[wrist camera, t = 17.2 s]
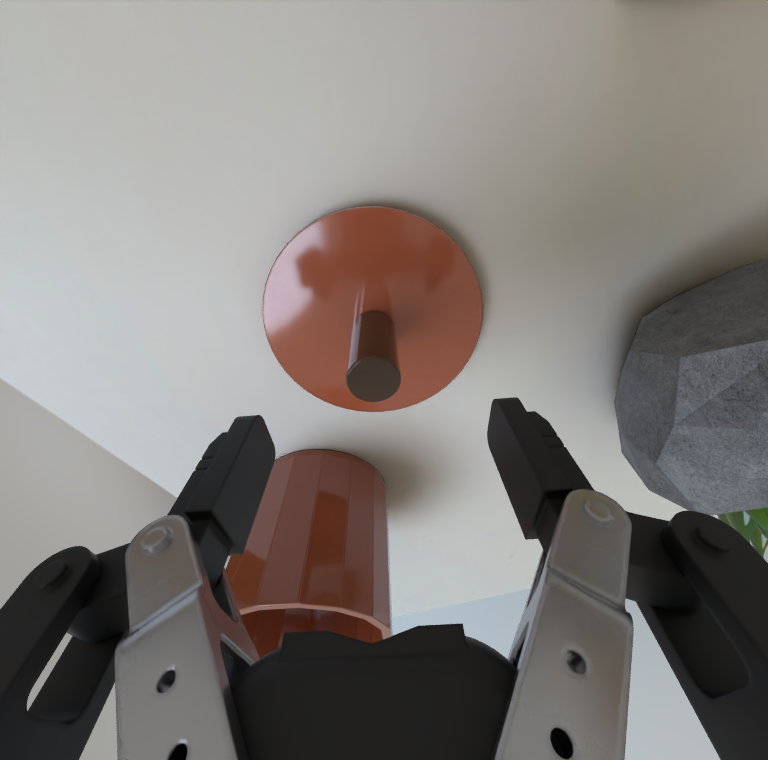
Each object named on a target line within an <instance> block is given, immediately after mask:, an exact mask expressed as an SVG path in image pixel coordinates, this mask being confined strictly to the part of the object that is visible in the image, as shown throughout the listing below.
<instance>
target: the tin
mask: <svg viewBox="0 0 768 760" xmlns="http://www.w3.org/2000/svg"><path fill="white" fill-rule="evenodd" d="M226 572H227V575H228V578H229V581H230V584H231V587H232V590H233V593H234V596H235V599H236V602H237V605H238V608H239V611H240V614H241V617H242V620H243V623H244V626H245V628H246V631H247V633H248V635H249V636H250V638H251V640H252V642H253V644H254V646H255V648H256V650H257V652H258V655H259V658H262V657H263V656H265V655H266V654H268V653H270V652H271V651H273V650H275V649H277V648H279V647H281V646H282V641H283V636H284V633H289V632H309V631H331V632H334V633H337V634H341V635H344V636H348V637H351V638H354V639H358V640H361V641H365V642H368V643H375V642H378V641H381V640H383V639H386V638H389V637H391V636H393V635H392V608H391V582H390V555H389V529H388V503H387V491H386V485H385V482H384V480H383V478H382V476H381V475H380V473H379V472H378V471H377V470H376V469H375V468H374V467H373V466H371V465H370V464H369V463H367V462H365V461H364V460H362V459H360V458H358V457H355V456H353V455H350V454H347V453H343V452H338V451H332V450H305V451H299V452H294V453H291V454H288V455H285V456H283V457H281V458H279V459H277V460H276V461H274V465H273V468H272V471H271V474H270V476H269V479H268V482H267V485H266V488H265V491H264V494H263V497H262V500H261V503H260V506H259V508H258V511H257V514H256V517H255V520H254V523H253V526H252V529H251V532H250V535H249V537H248V540H247V543H246V546H245V549H244V552H243V555H231V557H230V560H229V562H228V565H227V568H226Z"/></svg>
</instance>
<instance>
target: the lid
mask: <svg viewBox="0 0 768 760" xmlns="http://www.w3.org/2000/svg"><path fill="white" fill-rule="evenodd" d="M482 313H483V305H482V295H481V290H480V286H479V282H478V279H477V276H476V274H475V272H474V269H473V267H472V265H471V263H470V262H469V260H468V258H467V257H466V255H465V253H464V252H463V251H462V250H461V248H460V247H459V246H458V245H457V244H456V242H455V241H454V240H453V239H452V238H450V237H449V236H448V235H447V234H446V233H445V232H444V231H443V230H442V229H440V228H439V227H437V226H436V225H434V224H433V223H431V222H430V221H428V220H426V219H424V218H422V217H420V216H418V215H415V214H413V213H410V212H407V211H404V210H400V209H397V208H391V207H383V206H359V207H353V208H347V209H343V210H340V211H337V212H334V213H331V214H328V215H326V216H324V217H322V218H320V219H318V220H316V221H314V222H312V223H311V224H310V225H308V226H307V227H305V228H304V229H303V230H301V231H300V232H299V233H298V234H297V235H296V236H295V237H294V238H293V239H292V240H291V241H290V242H288V243H287V245H286V246H285V247H284V249H283V250H282V251H281V253H280V254H279V255H278V257H277V259H276V261H275V262H274V264H273V266H272V268H271V270H270V273H269V276H268V279H267V282H266V285H265V290H264V296H263V320H264V327H265V331H266V335H267V339H268V341H269V344H270V346H271V349H272V351H273V353H274V355H275V356H276V358H277V360H278V362H279V363H280V364H281V366H282V367H283V368H284V370H285V371H286V372H287V373H288V375H289V376H290V377H291V378H292V379H293V380H294V381H295V382H296V383H298V384H299V385H300V386H301V387H302V388H303V389H305V390H306V391H308V392H309V393H311V394H312V395H314V396H316V397H318V398H319V399H321V400H323V401H325V402H328V403H330V404H333V405H335V406H339V407H342V408H346V409H351V410H356V411H366V412H383V411H391V410H397V409H401V408H405V407H408V406H411V405H414V404H417V403H419V402H421V401H424V400H426V399H428V398H430V397H431V396H433V395H435V394H436V393H438V392H439V391H441V390H442V389H443V388H444V387H446V386H447V385H448V384H449V383H450V382H451V381H452V380H453V379H455V378H456V376H457V375H458V374H459V373H460V372H461V370H462V369H463V368H464V366H465V365H466V363H467V362H468V360H469V359H470V357H471V355H472V353H473V351H474V349H475V347H476V344H477V341H478V338H479V335H480V330H481V325H482Z"/></svg>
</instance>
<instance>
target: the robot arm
mask: <svg viewBox="0 0 768 760" xmlns="http://www.w3.org/2000/svg"><path fill="white" fill-rule="evenodd" d="M487 438H488V444H489V448H490V451H491V453H492V456H493V458H494V461H495V464H496V466H497V469H498V471H499V474H500V476H501V479H502V481H503V484H504V486H505V489H506V491H507V494H508V496H509V499H510V501H511V504H512V506H513V509H514V511H515V514H516V516H517V519H518V521H519V524H520V527H521V529H522V532H523V534H524V537H525V539H539V541H540V543H541V546H542V548H543V551H542V553H541V557H540V560H539V563H538V566H537V570H536V573H535V576H534V579H533V583H532V586H531V589H530V593H529V596H528V599H527V602H526V606H525V609H524V612H523V615H522V618H521V621H520V623H519V626H518V629H517V632H516V634H515V638H514V640H513V644H512V647H511V650H510V653H509V656H508V659H506V658H505V657H504V656H503V655H501V654H500V653H499V652H497V651H496V650H495V649H493V648H491V647H490V646H488V645H486V644H484V643H482V642H480V641H478V640H476V639H474V638H470V637H467V636H465V634H464V629H463V624H446V625H427V626H417V627H414V628H412V629H409V630H406V631H404V632H401V633H399V634H397V635H394V636H391V637H389V638H386V639H383V640H381V641H378V642H375V643H368V642H365V641H361V640H358V639H354V638H351V637H348V636H344V635H341V634H337V633H334V632H331V631H309V632H289V633H284V636H283V641H282V646H281V647H279V648H277V649H275V650H273V651H271V652H270V653H268V654H266V655H265V656H263V657H262V658H259V655H258V652H257V650H256V648H255V646H254V644H253V642H252V640H251V638H250V636H249V635H248V633H247V631H246V628H245V626H244V623H243V620H242V617H241V614H240V611H239V608H238V605H237V602H236V599H235V596H234V593H233V590H232V587H231V584H230V581H229V578H228V575H227V572H226V570H225V568H224V565H225V563H226V560H227V557H228V556H230V555H243V552H244V549H245V546H246V543H247V540H248V537H249V535H250V532H251V529H252V526H253V523H254V520H255V517H256V514H257V511H258V508H259V506H260V503H261V500H262V497H263V494H264V491H265V488H266V485H267V482H268V479H269V476H270V474H271V471H272V468H273V465H274V461H275V447H274V444H273V441H272V439H271V436H270V434H269V431H268V429H267V426H266V424H265V421H264V419H263V417H262V416H260V415H256V416H242V417H237V418H236V419H235V420H234V422H233V423H232V425H231V427H230V429H229V431H228V432H226V433H222V434H220V435H219V436H218V437H217V438H216V439H215V440H214V441H213V442H212V443H211V444H210V445H209V446H208V448H207V450H206V452H205V453H204V455H203V457H202V460H200V462H199V463H198V465H197V467H196V471H194V472H193V473H192V475H191V477H190V478H189V480H188V482H187V483H186V485H185V487H184V488H183V490H182V492H181V493H180V495H179V497H178V498H177V500H176V502H175V504H174V505H173V507H172V509H171V510H170V512H169V513H168V515H167V516H164V517H162V518H159V519H157V520H155V521H153V522H152V523H150V524H149V525H147V526H146V527H144V528H143V529H142V530H141V531H140V532H139V533H138V534H137V535H136V536H135V537H134V539H133V540H132V541H131V543H128V544H126V545H123V546H120V547H117V548H114V549H111V550H109V551H106V552H103V553H100V554H97V555H95V554H93V553H92V552H91V551H90V550H88V549H87V548H85V547H82V546H75V547H70V548H67V549H65V550H62V551H60V552H58V553H56V554H54V555H52V556H51V557H49V558H48V559H46V560H45V561H44V562H42V563H41V564H39V565H38V566H37V567H36V568H35V569H34V570H33V571H32V572H31V573H30V574H29V575H28V576H27V577H26V578H25V579H24V580H23V582H22V583H21V584H20V585H19V587H18V588H17V589H16V591H15V592H14V593H13V595H12V596H11V597H10V598H9V599H8V601H7V602H6V603H5V605H4V606H3V607H2V608H1V609H0V760H79V758H80V756H81V754H82V752H83V750H84V747H85V745H86V743H87V741H88V739H89V737H90V734H91V732H92V730H93V728H94V726H95V723H96V721H97V719H98V717H99V715H100V713H101V711H102V709H103V706H104V704H105V702H106V700H107V698H108V696H109V694H110V691H111V689H112V687H113V685H114V683H115V689H116V719H117V720H116V721H117V752H118V760H624V758H625V744H626V730H627V716H628V702H629V688H630V674H631V661H632V660H631V659H632V647H633V620H632V617H631V615H630V613H628V612H626V610H625V598H627V599H630V600H633V601H636V603H637V605H638V606H639V608H640V610H641V612H642V614H643V616H644V618H645V620H646V621H647V623H648V625H649V627H650V629H651V631H652V633H653V634H654V636H655V638H656V640H657V642H658V644H659V645H660V647H661V649H662V651H663V653H664V655H665V657H666V659H667V661H668V662H669V664H670V666H671V668H672V670H673V671H674V673H675V675H676V677H677V679H678V681H679V683H680V685H681V687H682V688H683V690H684V692H685V694H686V696H687V698H688V700H689V701H690V703H691V705H692V707H693V709H694V711H695V713H696V714H697V716H698V718H699V720H700V722H701V724H702V726H703V728H704V729H705V731H706V733H707V735H708V737H709V739H710V740H711V742H712V744H713V746H714V748H715V750H716V752H717V753H718V755H719V757H720V759H721V760H768V563H767V562H766V561H765V560H764V558H763V557H762V556H761V555H760V554H759V553H758V552H757V551H756V550H755V549H754V548H753V546H752V545H751V544H750V543H749V542H748V541H747V540H746V539H745V538H744V537H743V536H742V535H741V534H740V533H739V532H737V531H736V530H735V529H734V528H732V527H731V526H729V525H728V524H726V523H724V522H723V521H721V520H719V519H717V518H715V517H713V516H710V515H707V514H704V513H701V512H696V511H682V512H679V513H677V514H675V516H674V517H673V518H672V519H671V520H670V521H665V520H661V519H656V518H652V517H647V516H642V515H638V514H634V513H630V512H627V511H625V510H624V509H623V508H622V507H621V506H620V505H619V504H618V503H617V502H616V501H614V500H613V499H612V498H610V497H608V496H607V495H604V494H602V493H600V492H597V491H595V490H594V489H593V488H592V486H591V485H590V483H589V482H588V480H587V479H586V477H585V476H584V474H583V473H582V471H581V470H580V468H579V467H578V465H577V464H576V462H575V461H574V459H573V458H572V456H571V455H570V453H569V452H568V450H567V449H566V447H564V444H563V443H562V441H561V440H560V438H559V437H557V434H556V432H555V431H554V429H553V428H552V426H551V425H550V423H549V422H548V421H547V420H546V419H544V418H543V417H542V416H540V415H539V414H538V413H536V412H535V411H534V412H527V411H526V410H525V408H524V406H523V405H522V403H521V401H520V400H519V399H518V398H516V397H515V398H501V399H494V400H493V402H492V406H491V412H490V418H489V425H488V431H487ZM66 633H68V634H70V635H72V636H73V637H72V638H71V640H70V642H69V643H68V645H67V647H66V648H65V650H64V652H63V653H62V655H61V657H60V659H59V660H58V662H57V663H56V665H55V667H54V668H53V670H52V672H51V673H50V675H49V677H48V678H47V680H46V682H45V683H44V685H43V687H42V689H41V690H40V692H39V693H38V695H37V697H36V698H35V700H34V702H33V703H32V705H31V707H30V708H29V710H28V712H27V700H28V696H29V693H30V691H31V689H32V687H33V686H34V684H35V682H36V681H37V679H38V677H39V676H40V674H41V673H42V671H43V669H44V668H45V666H46V665H47V662H48V661H49V660H50V658H51V656H52V655H53V653H54V652H55V650H56V648H57V647H58V645H59V643H60V642H61V640H62V639H63V637H64V635H65V634H66Z"/></svg>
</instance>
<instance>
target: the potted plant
mask: <svg viewBox="0 0 768 760" xmlns="http://www.w3.org/2000/svg"><path fill="white" fill-rule="evenodd" d="M614 402H615V409H616V416H617V423H618V429H619V436H620V443H621V450H622V454H623V455H624V456H625V458H626V459H627V460H628V462H629V463H630V465H631V466H632V467H633V469H634V470H635V472H636V473H637V474H638V476H639V477H640V478H641V480H642V481H643V483H644V484H645V485H646V487H647V488H648V489H649V490H650V491H652V492H654V493H656V494H658V495H660V496H662V497H664V498H666V499H668V500H670V501H672V502H674V503H676V504H677V505H679V506H681V507H683V508H685V509H687V510H689V511H696V512H701V513H704V514H707V515H718V518H719V520H721V521H723V522H724V523H726V524H728V525H729V526H731V527H732V528H734V529H735V530H736V531H737V532H739V533H740V534H741V535H742V536H743V537H744V538H745V539H746V540H747V541H748V542H749V543H750V541H751V543H752V545H753V548H754V549H755V550H756V551H757V552H758V553H759V554H760V555H761V556H762V557H763V555H764V552H765V549H766V547H767V545H768V258H767V259H763V260H760V261H757V262H754V263H751V264H748V265H745V266H742V267H739V268H736V269H734V270H732V271H730V272H727V273H725V274H723V275H721V276H719V277H717V278H714V279H712V280H710V281H708V282H706V283H704V284H702V285H699V286H697V287H695V288H693V289H691V290H689V291H687V292H684V293H682V294H680V295H678V296H676V297H674V298H672V299H670V300H669V301H667V302H666V303H664V304H663V305H661V306H660V307H658V308H657V309H655V310H654V311H652V312H651V313H649V314H648V315H646V316H645V317H643V318H642V319H641V321H640V324H639V326H638V329H637V331H636V334H635V337H634V339H633V342H632V345H631V347H630V350H629V353H628V356H627V359H626V361H625V364H624V367H623V370H622V373H621V375H620V379H619V383H618V388H617V392H616V397H615V401H614Z"/></svg>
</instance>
